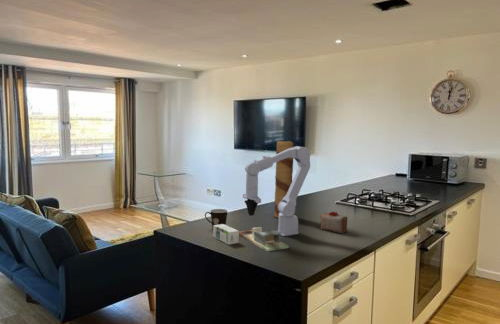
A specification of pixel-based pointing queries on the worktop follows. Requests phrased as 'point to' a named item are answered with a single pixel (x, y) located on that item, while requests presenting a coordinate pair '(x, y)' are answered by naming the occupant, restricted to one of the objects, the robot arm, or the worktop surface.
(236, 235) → the syrup box
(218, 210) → the coffee mug
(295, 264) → the worktop surface
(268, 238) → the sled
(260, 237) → the rail tunnel
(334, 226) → the food item
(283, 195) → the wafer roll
